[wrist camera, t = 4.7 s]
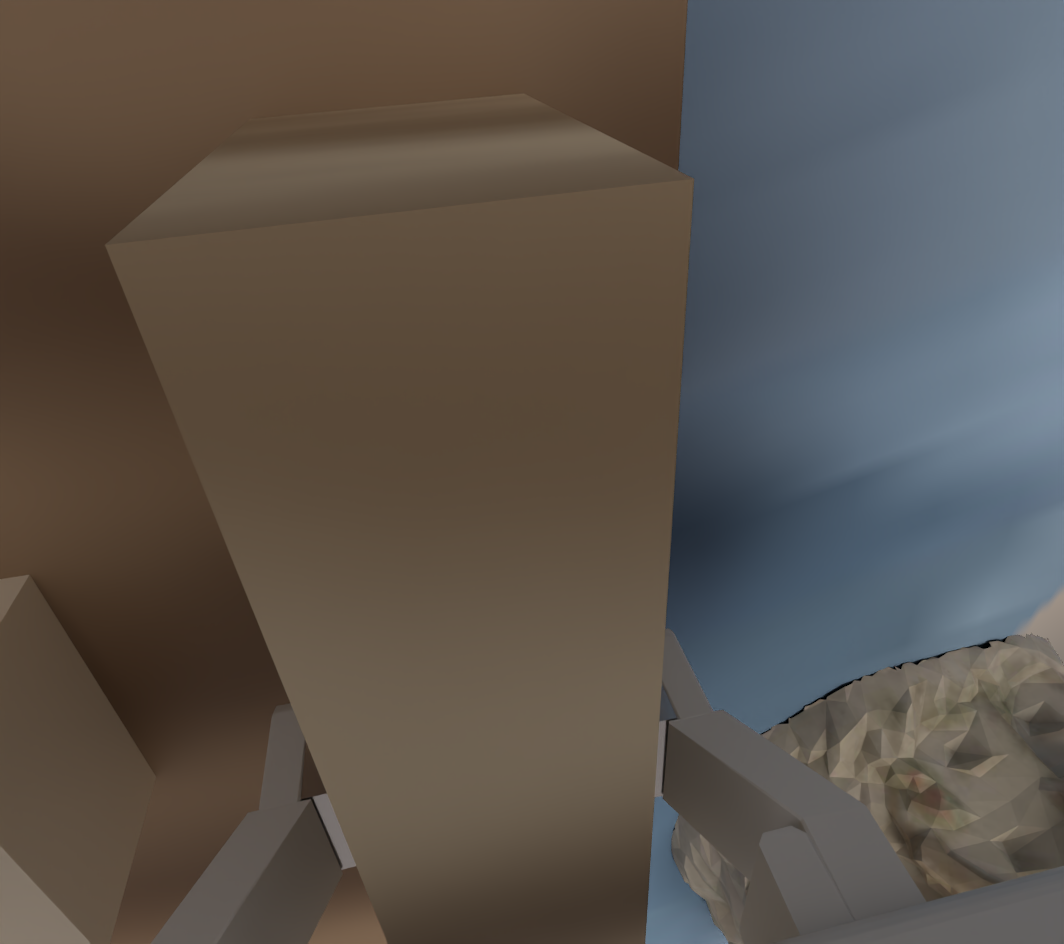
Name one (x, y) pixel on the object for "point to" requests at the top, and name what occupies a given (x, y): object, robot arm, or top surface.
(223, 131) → the plate
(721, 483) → the top surface
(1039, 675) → the ceramic cottage
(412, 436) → the bar
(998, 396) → the top surface
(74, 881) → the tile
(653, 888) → the top surface
